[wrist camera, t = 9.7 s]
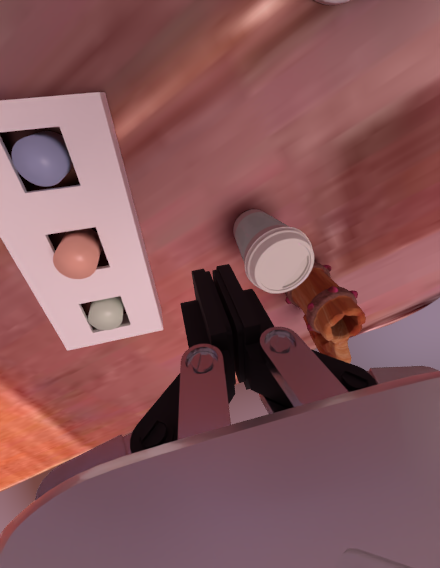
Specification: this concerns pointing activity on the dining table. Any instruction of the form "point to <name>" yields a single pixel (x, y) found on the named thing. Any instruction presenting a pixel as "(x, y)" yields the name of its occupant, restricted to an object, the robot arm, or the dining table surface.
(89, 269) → the orange rounded piece
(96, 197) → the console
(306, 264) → the coffee cup
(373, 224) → the dining table surface
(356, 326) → the mug
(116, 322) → the sage button
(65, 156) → the slate button
